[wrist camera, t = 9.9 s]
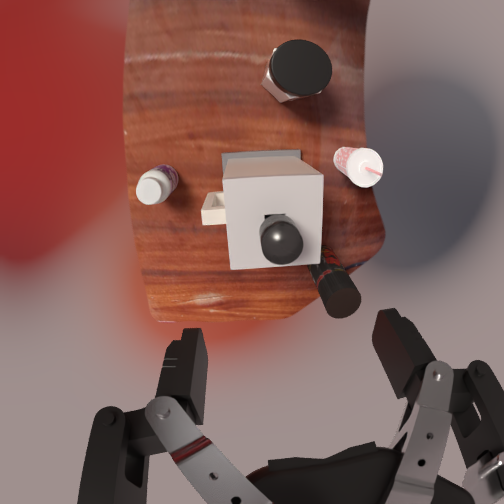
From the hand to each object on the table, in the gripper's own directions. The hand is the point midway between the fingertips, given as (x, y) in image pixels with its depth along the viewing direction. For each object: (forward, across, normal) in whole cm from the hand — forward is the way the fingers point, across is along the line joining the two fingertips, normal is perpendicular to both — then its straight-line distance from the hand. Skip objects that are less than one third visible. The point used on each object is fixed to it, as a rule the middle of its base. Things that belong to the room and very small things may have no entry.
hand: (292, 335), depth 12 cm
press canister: (+39, 0, +4) cm, 40 cm away
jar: (+40, -7, -15) cm, 43 cm away
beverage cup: (+40, -17, -1) cm, 43 cm away
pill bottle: (+40, +16, 0) cm, 43 cm away
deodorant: (+39, -12, +19) cm, 45 cm away
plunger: (+31, -1, +4) cm, 31 cm away
